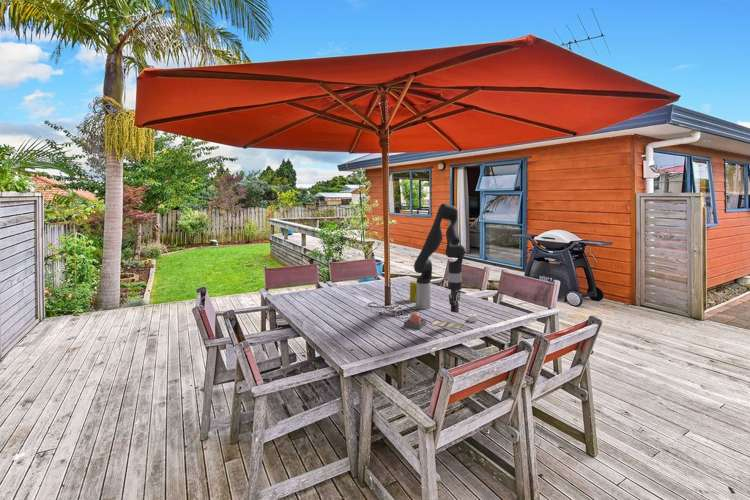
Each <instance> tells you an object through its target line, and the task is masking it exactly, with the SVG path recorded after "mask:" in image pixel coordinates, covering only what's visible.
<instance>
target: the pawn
mask: <svg viewBox="0 0 750 500" xmlns="http://www.w3.org/2000/svg"><path fill="white" fill-rule="evenodd" d="M454 300H455V299H454ZM452 303H453V301H452ZM459 304H460V303H458V300H457V301H456V305H455V312H452V311H451V310H450V312H451V313H459V312H460V311H459V309H460V308H459V307H460V305H459Z"/></svg>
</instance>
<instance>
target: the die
mask: <svg viewBox="0 0 750 500" xmlns="http://www.w3.org/2000/svg"><path fill="white" fill-rule="evenodd" d="M468 322H471V323H477V322H478V316H477V314H476V313H468Z"/></svg>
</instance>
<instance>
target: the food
mask: <svg viewBox="0 0 750 500" xmlns="http://www.w3.org/2000/svg"><path fill="white" fill-rule="evenodd" d="M416 293H417V280H411V281H410V283H409V301H410V302H415V303H416Z"/></svg>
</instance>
